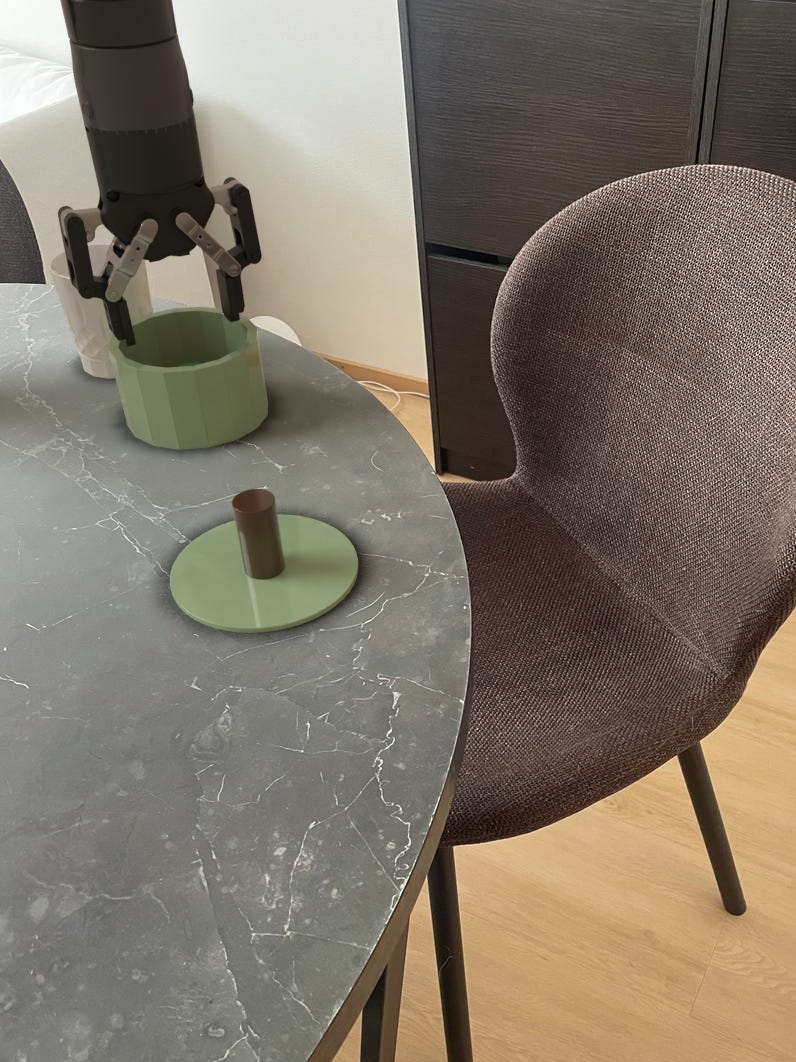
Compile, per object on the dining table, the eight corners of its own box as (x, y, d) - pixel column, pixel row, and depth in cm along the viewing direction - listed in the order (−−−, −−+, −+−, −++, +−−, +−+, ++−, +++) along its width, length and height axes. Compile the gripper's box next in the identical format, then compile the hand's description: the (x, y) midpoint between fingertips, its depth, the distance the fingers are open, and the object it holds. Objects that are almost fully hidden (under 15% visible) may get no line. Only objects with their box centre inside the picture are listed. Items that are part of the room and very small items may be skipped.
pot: (104, 446, 85) (81, 361, 80) (168, 380, 94) (151, 300, 89) (235, 464, 83) (220, 379, 78) (289, 396, 92) (278, 315, 87)
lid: (139, 623, 69) (116, 542, 64) (220, 515, 78) (205, 438, 74) (321, 655, 67) (310, 573, 62) (383, 540, 76) (377, 462, 71)
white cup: (184, 366, 96) (162, 259, 89) (110, 397, 91) (81, 287, 85) (134, 340, 100) (110, 235, 93) (61, 369, 95) (30, 261, 89)
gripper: (216, 84, 78) (247, 294, 88) (20, 110, 72) (78, 332, 83) (254, 109, 73) (282, 328, 84) (47, 139, 67) (105, 370, 78)
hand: (180, 330), depth 83 cm, fingers open, 8 cm apart
